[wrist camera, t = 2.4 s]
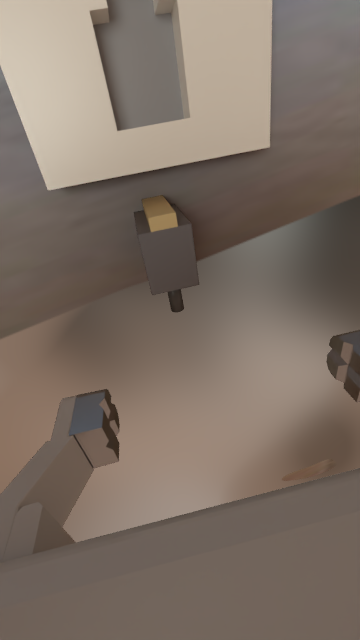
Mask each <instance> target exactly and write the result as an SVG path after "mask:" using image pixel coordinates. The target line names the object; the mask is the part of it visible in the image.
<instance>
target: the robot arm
mask: <svg viewBox="0 0 360 640" xmlns="http://www.w3.org/2000/svg"><path fill="white" fill-rule="evenodd" d="M329 345H330V347H331V348H332V350H331V351H330V352H329V353H328V355H327V365H328V369H329V371H330V373H331V374H332V375H333V376H334V378H335V379H337V380H339V381H341V382H343V383H344V389H345V390H346V391H347V392H348V393H349V394H350V395H351V397H352V398H353V399H354V400H355V401H356V402H360V330H356V331H352V332H348V333H344V334H340V335H336V336H333V337H332V338H331V339H330V343H329ZM118 433H119V418H118V413H117V409H116V407H115V405H114V404H112V403H111V395H110V393H109V391H108V390H107V389H104V390H99V391H95V392H90V393H85V394H80V395H77V396H73V397H68V398H63V399H62V401H61V402H60V405H59V409H58V414H57V417H56V421H55V425H54V429H53V433H52V438H51V441H47V442H46V443H45V444H44V445H43V446H42V447H41V448H40V449H39V451H38V452H37V453H36V454H35V455H34V456H33V457H32V459H31V460H30V461H29V462H28V463H27V464H26V466H25V467H24V468H23V469H22V470H21V471H20V472H19V474H18V475H17V476H16V477H15V478H14V479H13V481H12V482H11V483H10V484H9V485H8V486H7V487H6V489H5V490H4V491H3V492H2V493H1V494H0V640H360V468H359V469H355V470H351V471H347V472H343V473H340V474H336V475H332V476H328V477H324V478H321V479H317V480H313V481H309V482H305V483H301V484H298V485H294V486H290V487H286V488H282V489H278V490H275V491H271V492H267V493H263V494H260V495H256V496H252V497H248V498H244V499H241V500H237V501H233V502H229V503H225V504H221V505H218V506H214V507H210V508H206V509H203V510H199V511H195V512H192V513H187V514H184V515H180V516H176V517H173V518H168V519H165V520H161V521H157V522H153V523H149V524H146V525H142V526H138V527H134V528H130V529H127V530H123V531H119V532H115V533H112V534H107V535H103V536H100V537H96V538H92V539H88V540H85V541H81V542H77V543H76V542H75V541H74V540H73V539H72V538H71V537H70V535H69V534H68V533H67V532H66V531H65V530H64V529H63V528H62V526H63V525H64V523H65V521H66V519H67V518H68V516H69V514H70V512H71V510H72V508H73V507H74V505H75V503H76V501H77V499H78V498H79V496H80V494H81V492H82V490H83V488H84V487H85V485H86V483H87V481H88V479H89V478H90V476H91V474H92V472H93V468H97V467H100V466H104V465H107V464H111V463H115V462H118V461H119V442H118V440H117V437H116V436H117V434H118Z"/></svg>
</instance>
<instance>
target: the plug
mask: <svg viewBox="0 0 360 640" xmlns="http://www.w3.org/2000/svg"><path fill="white" fill-rule="evenodd" d="M142 203H143V208H144V210H143V211H138V212H134V217H135V223H136V229H137V235H138V239H139V243H140V247H141V252H142V256H143V260H144V264H145V268H146V272H147V277H148V281H149V285H150V289H151V293H152V295H155V294H160V293H164V292H168V296H169V301H170V305H171V310H172V311H173V312H180V311H182V310H183V309H184V306H183V300H182V294H181V289H182V288H187V287H191V286H196V285H199V280H198V272H197V264H196V256H195V248H194V241H193V233H192V226H191V223H190V222H189V221H188V219H187V218H186V217H185V216H184V215H183V214H182V212H181V211H180V210H179V209H178V208H177V207H176V205H175V204H172V205H170V204H169V203H168V202H167V201H166V199H165V198H164V197H163V195H160V196H155V197H151V198H146V199H142Z"/></svg>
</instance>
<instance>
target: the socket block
mask: <svg viewBox="0 0 360 640" xmlns="http://www.w3.org/2000/svg"><path fill="white" fill-rule="evenodd" d="M271 41H272V0H0V66H1V68H2V71H3V74H4V76H5V79H6V81H7V84H8V87H9V89H10V92H11V94H12V97H13V100H14V102H15V105H16V108H17V110H18V113H19V115H20V118H21V121H22V123H23V126H24V128H25V131H26V134H27V136H28V139H29V142H30V144H31V147H32V149H33V152H34V155H35V157H36V160H37V163H38V165H39V168H40V170H41V173H42V176H43V178H44V181H45V183H46V186H47V189H48V190H53V189H58V188H63V187H68V186H74V185H79V184H84V183H89V182H94V181H99V180H104V179H109V178H115V177H120V176H125V175H130V174H135V173H140V172H145V171H150V170H156V169H161V168H166V167H171V166H176V165H181V164H186V163H191V162H197V161H202V160H207V159H212V158H217V157H222V156H227V155H232V154H238V153H243V152H248V151H253V150H258V149H263V148H268V147H270V102H271Z"/></svg>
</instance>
